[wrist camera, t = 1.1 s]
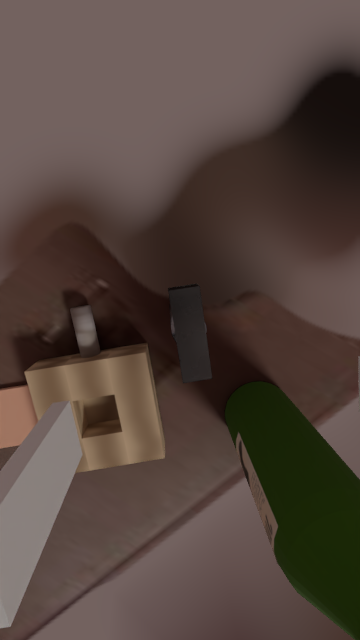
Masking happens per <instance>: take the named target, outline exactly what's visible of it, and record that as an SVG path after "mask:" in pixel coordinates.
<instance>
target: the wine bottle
mask: <svg viewBox="0 0 360 640" xmlns="http://www.w3.org/2000/svg"><path fill="white" fill-rule="evenodd" d="M225 420H226V423H227V426H228V429H229V432H230V434H231V437H232V440H233V442H234V445H235V448H236V451H237V454H238V457H239V460H240V462H241V465H242V468H243V470H244V473H245V476H246V479H247V481H248V484H249V487H250V489H251V492H252V495H253V498H254V500H255V503H256V506H257V509H258V511H259V514H260V517H261V520H262V522H263V525H264V528H265V530H266V533H267V536H268V539H269V541H270V544H271V547H272V549H273V552H274V555H275V557H276V560H277V563H278V564H279V566H280V567H281V569H282V570H283V572H284V574H285V575H286V577H287V578H288V580H289V582H290V583H291V584H292V586H293V587H294V588H295V590H296V591H297V592H298V593H299V594H300V595H301V596H303V597H304V598H305V599H306V600H307V601H309V602H310V603H311V604H312V605H313V606H315V607H316V608H317V609H318V610H320V611H321V612H322V613H323V614H324V615H326V616H327V617H328V618H329V619H331V620H332V621H333V622H334V623H335V624H337V625H338V626H339V627H340V628H341V629H343V630H344V631H345V632H346V633H347V634H349V635H350V636H351V637H352V638H353V639H355V640H360V479H359V478H358V477H357V476H356V475H355V474H354V473H353V471H352V470H351V469H350V468H349V467H348V466H347V465H346V463H345V462H344V461H343V460H342V459H341V458H340V457H339V455H338V454H337V453H336V452H335V451H334V450H333V448H332V447H331V446H330V445H329V444H328V443H327V442H326V440H325V439H324V438H323V437H322V436H321V435H320V434H319V432H317V430H316V429H315V428H314V427H313V426H312V424H311V423H310V422H309V421H308V420H307V419H306V417H305V416H304V415H303V414H302V413H301V412H300V411H299V409H298V408H297V407H296V406H295V405H294V404H293V403H292V401H291V400H290V399H289V398H288V397H287V396H286V395H285V393H284V392H283V391H282V390H280V389H279V388H278V387H277V386H275V385H273V384H270V383H267V382H261V381H258V382H250V383H247V384H244V385H243V386H241V387H239V388H238V389H236V390H235V391H234V393H233V394H232V395H231V396H230V398H229V400H228V401H227V405H226V409H225Z"/></svg>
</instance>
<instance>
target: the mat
mask: <svg viewBox="0 0 360 640" xmlns="http://www.w3.org/2000/svg"><path fill="white" fill-rule="evenodd" d="M37 423H38V419H37V415H36V412H35V408H34V405H33V401H32V397H31V394H30V390H29V387H28V385H21V386H15V387H9V388H3V389H0V448H6V447H12V446H18V445H21V443H22V442H23V441H24V439H25V438H26V437H27V436H28V434H29V433H30V432H31V430H32V429H33V428H34V426H35V425H36V424H37Z"/></svg>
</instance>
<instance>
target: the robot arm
mask: <svg viewBox="0 0 360 640" xmlns="http://www.w3.org/2000/svg"><path fill="white" fill-rule="evenodd" d="M358 367H359V412H360V356H358ZM82 455H83V454H82V450H81V446H80V442H79V438H78V433H77V429H76V425H75V421H74V417H73V413H72V409H71V404H70V400H69V401H63V402H56V403H52V404H51V406H50V407H49V408H48V410H47V411H46V412H45V413H44V415H43V416H42V417H41V419H40V420H39V421H38V423H37V424H36V425H35V426H34V428H33V429H32V430H31V432H30V433H29V434H28V436H27V437H26V438H25V439H24V441H23V442H22V443H21V445H20V446H19V447H18V449H17V450H16V451H15V452H14V454H13V455H12V456H11V458H10V459H9V460H8V462H7V463H6V464H5V465H4V467H3V468H2V469H1V471H0V628H4V627H11V624H12V622H13V619H14V617H15V615H16V612H17V610H18V607H19V605H20V603H21V600H22V598H23V595H24V593H25V591H26V588H27V586H28V584H29V581H30V579H31V576H32V574H33V572H34V569H35V567H36V564H37V562H38V560H39V557H40V555H41V552H42V550H43V548H44V545H45V543H46V541H47V538H48V536H49V533H50V531H51V529H52V526H53V524H54V521H55V519H56V517H57V514H58V512H59V509H60V507H61V505H62V502H63V500H64V498H65V495H66V493H67V490H68V488H69V486H70V483H71V481H72V478H73V476H74V474H75V471H76V469H77V467H78V464H79V462H80V459H81V457H82Z"/></svg>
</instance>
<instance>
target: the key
mask: <svg viewBox="0 0 360 640" xmlns="http://www.w3.org/2000/svg"><path fill="white" fill-rule="evenodd" d="M168 292H169V298H170V304H169V309H170V320H171V331H172V336H173V338H174V340H175V341H176V342H177V348H178V354H179V361H180V367H181V373H182V379H183V383H188V382H194V381H200V380H206V379H212V373H211V366H210V358H209V351H208V344H207V336H206V331H207V328H206V324H205V322H204V315H203V307H202V300H201V293H200V286H199V285H198V284H191V285H185V286H178V287H172V288H168Z"/></svg>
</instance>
